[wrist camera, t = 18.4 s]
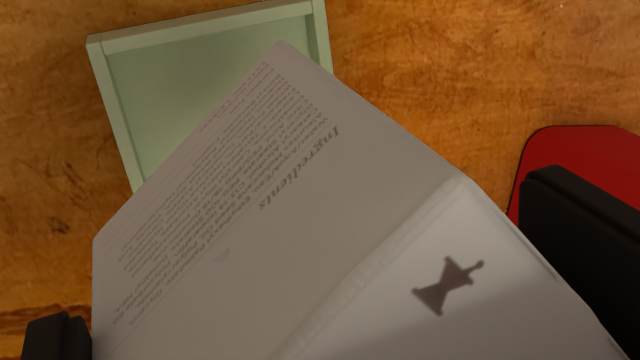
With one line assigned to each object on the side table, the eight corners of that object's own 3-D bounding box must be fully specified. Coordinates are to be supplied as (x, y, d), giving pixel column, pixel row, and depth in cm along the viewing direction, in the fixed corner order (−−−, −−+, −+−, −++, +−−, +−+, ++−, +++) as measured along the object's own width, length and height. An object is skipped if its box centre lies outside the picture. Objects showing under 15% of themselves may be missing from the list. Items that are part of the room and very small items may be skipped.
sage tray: (149, 233, 29) (152, 253, 28) (86, 35, 25) (84, 44, 23) (336, 182, 32) (349, 198, 30) (310, -9, 27) (324, -3, 25)
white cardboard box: (86, 235, 12) (64, 571, 6) (280, 29, 12) (472, 165, 6) (277, 353, 16) (393, 658, 9) (438, 193, 15) (676, 400, 9)
